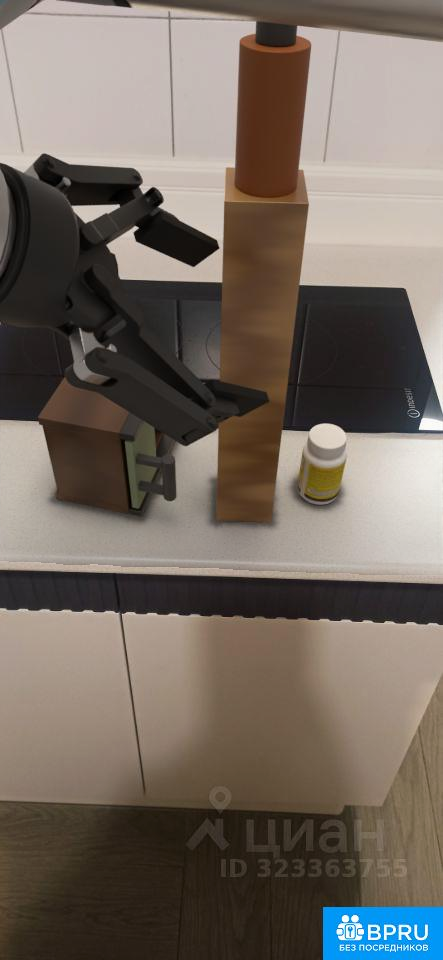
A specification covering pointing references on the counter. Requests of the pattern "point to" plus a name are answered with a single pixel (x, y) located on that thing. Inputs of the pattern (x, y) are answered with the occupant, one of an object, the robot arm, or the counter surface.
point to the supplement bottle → (322, 464)
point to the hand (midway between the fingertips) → (228, 327)
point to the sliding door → (149, 468)
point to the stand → (257, 339)
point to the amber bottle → (270, 109)
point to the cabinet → (93, 448)
